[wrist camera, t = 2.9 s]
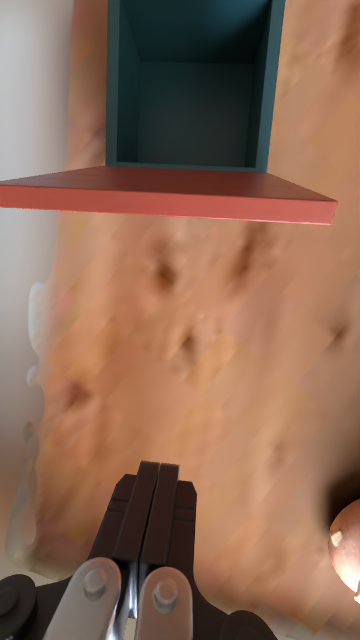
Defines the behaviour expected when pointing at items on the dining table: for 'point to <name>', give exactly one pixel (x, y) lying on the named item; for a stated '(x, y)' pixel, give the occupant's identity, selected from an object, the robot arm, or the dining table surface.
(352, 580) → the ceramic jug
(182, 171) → the sorter lid
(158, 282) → the dining table surface
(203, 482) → the dining table surface
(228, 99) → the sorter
